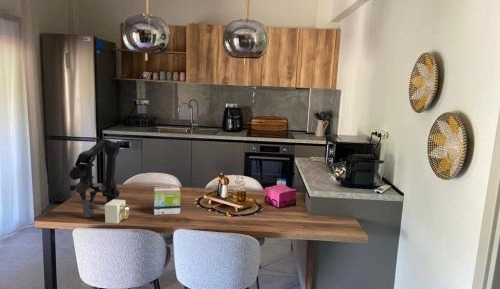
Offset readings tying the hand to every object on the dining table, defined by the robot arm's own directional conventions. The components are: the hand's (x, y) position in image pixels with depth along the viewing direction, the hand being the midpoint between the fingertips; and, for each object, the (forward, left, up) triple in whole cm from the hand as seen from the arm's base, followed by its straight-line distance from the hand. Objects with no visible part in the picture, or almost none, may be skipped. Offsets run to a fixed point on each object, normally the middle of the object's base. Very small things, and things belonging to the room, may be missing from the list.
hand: (88, 202), depth 214 cm
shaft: (+5, +10, -8) cm, 13 cm away
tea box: (+4, +43, -9) cm, 44 cm away
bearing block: (+8, +14, -9) cm, 18 cm away
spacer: (+11, +19, -4) cm, 22 cm away
